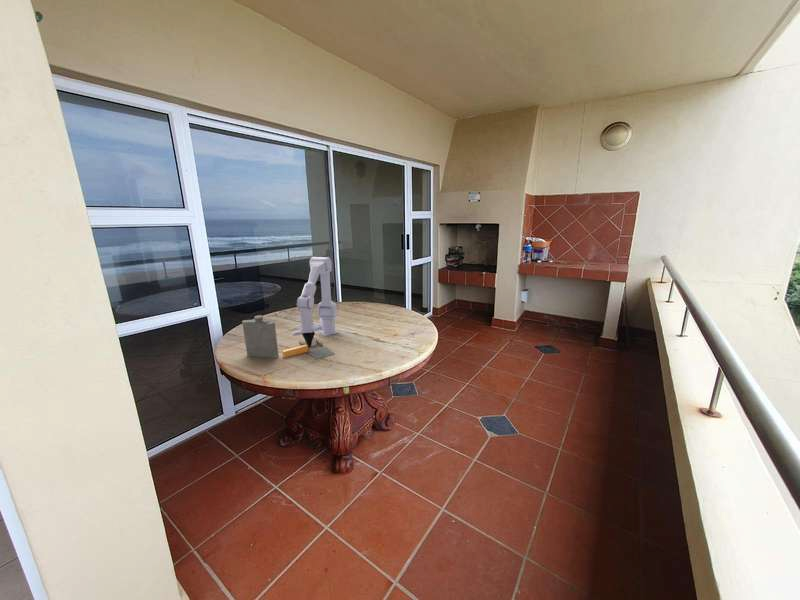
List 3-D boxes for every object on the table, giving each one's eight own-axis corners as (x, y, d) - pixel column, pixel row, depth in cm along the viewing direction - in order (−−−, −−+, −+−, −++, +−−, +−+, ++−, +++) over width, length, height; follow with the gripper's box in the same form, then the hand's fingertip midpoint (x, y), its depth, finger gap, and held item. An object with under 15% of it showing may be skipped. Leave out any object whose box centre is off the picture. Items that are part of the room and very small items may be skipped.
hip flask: (245, 356, 154) (239, 316, 148) (251, 352, 157) (245, 314, 152) (276, 358, 151) (271, 318, 145) (280, 354, 155) (276, 315, 149)
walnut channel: (299, 343, 167) (299, 340, 167) (314, 339, 172) (314, 336, 172) (306, 350, 160) (306, 346, 159) (322, 345, 165) (322, 342, 164)
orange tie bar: (282, 356, 153) (282, 350, 152) (307, 349, 160) (306, 344, 159) (284, 357, 151) (283, 351, 151) (308, 351, 158) (307, 345, 158)
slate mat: (307, 352, 157) (307, 352, 157) (326, 347, 163) (326, 346, 163) (315, 360, 149) (315, 359, 149) (335, 354, 155) (335, 353, 155)
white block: (304, 344, 166) (304, 335, 165) (313, 342, 169) (312, 333, 168) (308, 347, 163) (307, 338, 162) (316, 345, 166) (315, 336, 164)
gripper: (295, 325, 148) (297, 352, 152) (324, 319, 156) (326, 345, 160) (289, 321, 153) (292, 347, 157) (318, 315, 162) (320, 340, 165)
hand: (309, 346), depth 159 cm, fingers closed
